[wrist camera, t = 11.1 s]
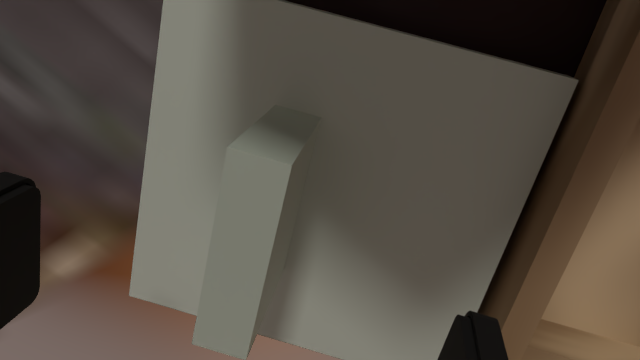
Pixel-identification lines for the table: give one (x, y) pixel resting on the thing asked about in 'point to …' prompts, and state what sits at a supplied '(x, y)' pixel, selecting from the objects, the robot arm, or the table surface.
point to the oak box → (582, 217)
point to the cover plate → (331, 177)
